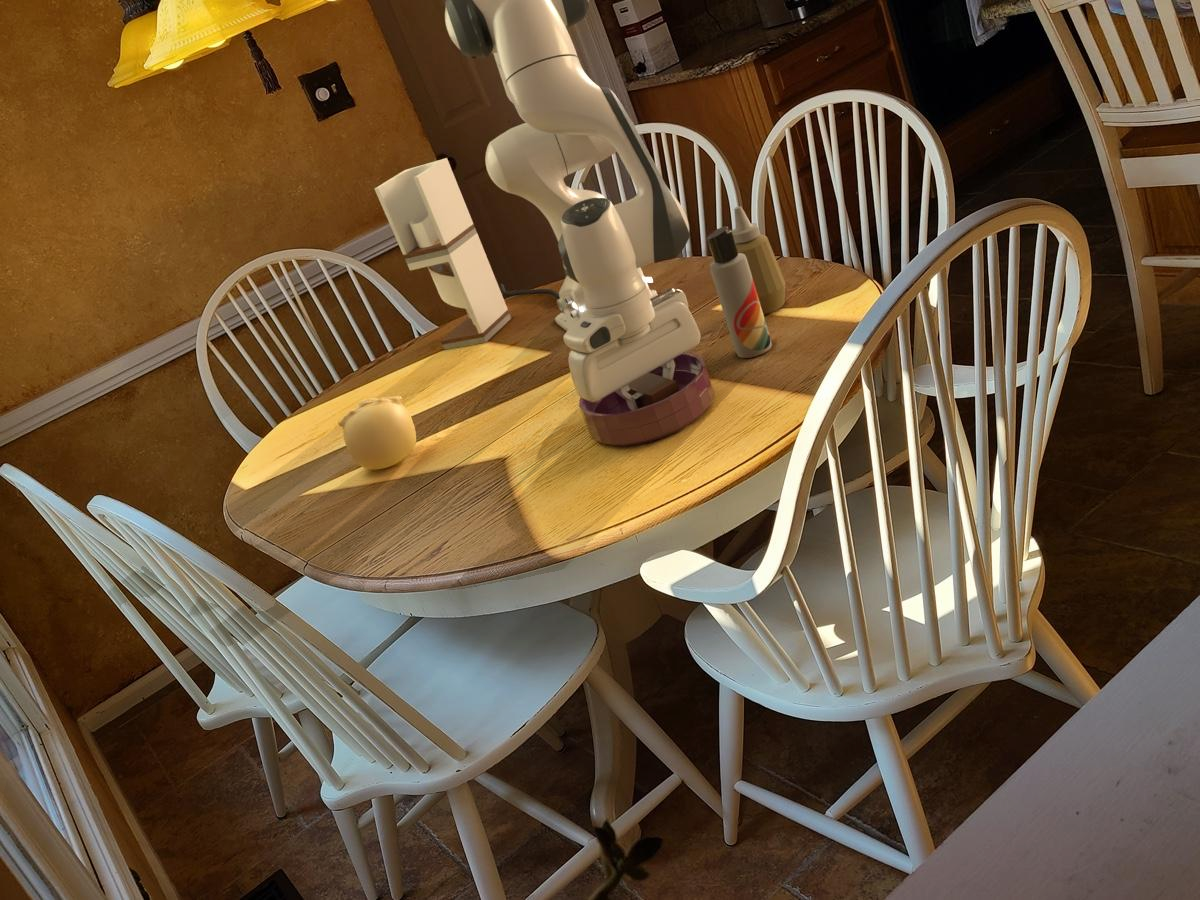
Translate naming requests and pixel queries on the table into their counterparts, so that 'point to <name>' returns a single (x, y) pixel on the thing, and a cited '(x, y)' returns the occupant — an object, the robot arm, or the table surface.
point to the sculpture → (379, 432)
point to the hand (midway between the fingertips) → (652, 399)
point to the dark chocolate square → (652, 388)
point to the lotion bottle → (738, 295)
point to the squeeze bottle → (759, 262)
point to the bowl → (652, 408)
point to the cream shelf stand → (445, 247)
